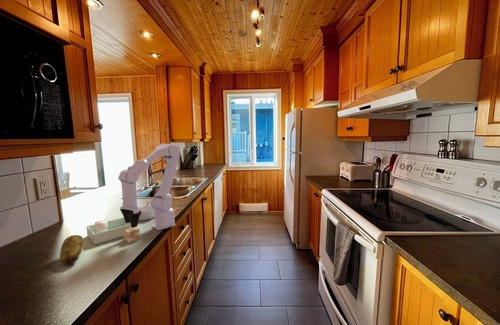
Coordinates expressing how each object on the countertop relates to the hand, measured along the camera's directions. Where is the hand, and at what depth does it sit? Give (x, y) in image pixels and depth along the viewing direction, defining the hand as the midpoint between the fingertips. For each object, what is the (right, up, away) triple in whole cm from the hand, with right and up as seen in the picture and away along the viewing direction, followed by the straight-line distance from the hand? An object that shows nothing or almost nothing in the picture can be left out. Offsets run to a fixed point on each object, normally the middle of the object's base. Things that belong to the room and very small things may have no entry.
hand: (131, 224), depth 104 cm
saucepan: (-8, -4, +32) cm, 34 cm away
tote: (-12, -6, +5) cm, 15 cm away
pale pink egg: (-15, -6, +2) cm, 16 cm away
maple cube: (0, -7, +1) cm, 7 cm away
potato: (-14, -9, -16) cm, 23 cm away
